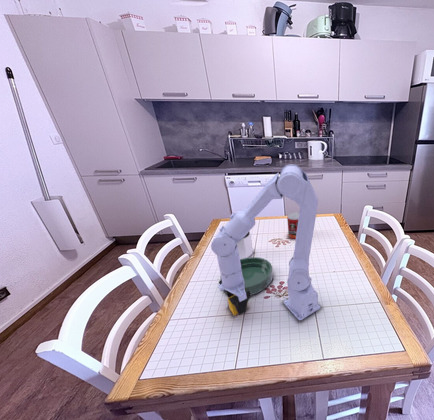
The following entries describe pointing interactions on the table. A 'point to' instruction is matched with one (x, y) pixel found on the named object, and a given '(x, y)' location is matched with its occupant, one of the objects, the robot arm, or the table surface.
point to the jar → (245, 246)
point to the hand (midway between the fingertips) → (237, 305)
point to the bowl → (256, 274)
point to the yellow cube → (232, 307)
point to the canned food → (292, 224)
